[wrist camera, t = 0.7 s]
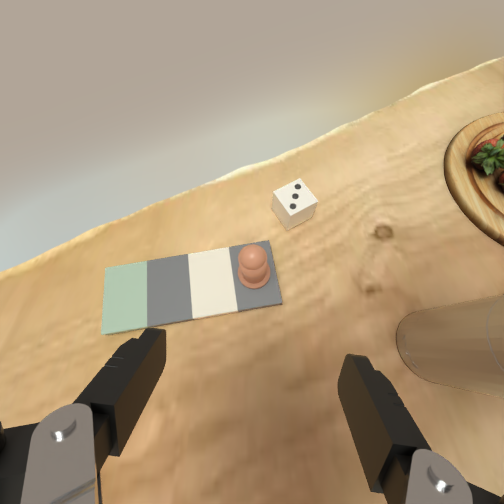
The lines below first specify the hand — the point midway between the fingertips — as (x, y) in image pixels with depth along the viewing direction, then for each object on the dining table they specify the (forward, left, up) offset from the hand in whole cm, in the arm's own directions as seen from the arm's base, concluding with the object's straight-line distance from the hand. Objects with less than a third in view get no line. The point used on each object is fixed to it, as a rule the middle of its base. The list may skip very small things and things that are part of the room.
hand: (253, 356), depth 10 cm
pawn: (-1, -10, -23) cm, 25 cm away
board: (+9, -10, -24) cm, 28 cm away
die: (-9, -20, -24) cm, 33 cm away
